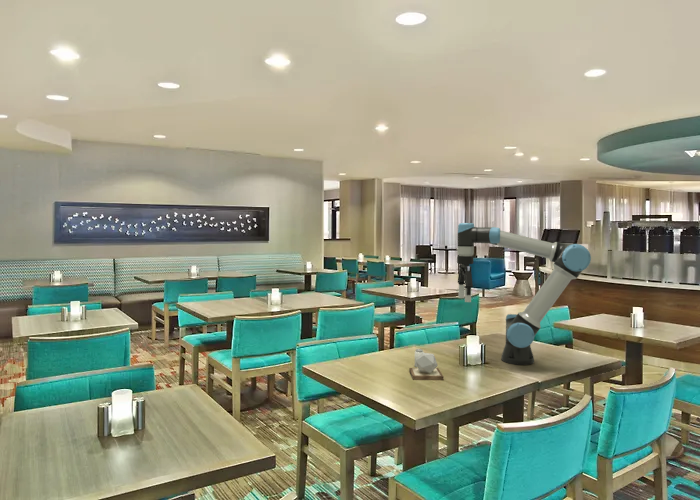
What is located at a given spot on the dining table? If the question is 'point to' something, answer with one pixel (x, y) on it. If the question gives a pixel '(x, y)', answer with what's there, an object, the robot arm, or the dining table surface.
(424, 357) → the die
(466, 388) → the dining table surface
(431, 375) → the board
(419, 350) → the shaker
